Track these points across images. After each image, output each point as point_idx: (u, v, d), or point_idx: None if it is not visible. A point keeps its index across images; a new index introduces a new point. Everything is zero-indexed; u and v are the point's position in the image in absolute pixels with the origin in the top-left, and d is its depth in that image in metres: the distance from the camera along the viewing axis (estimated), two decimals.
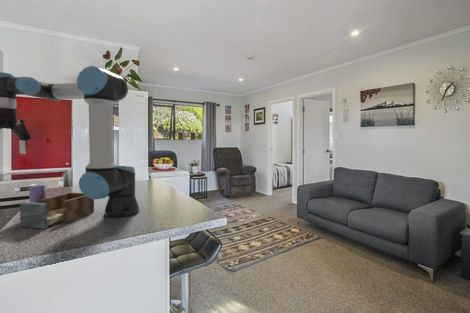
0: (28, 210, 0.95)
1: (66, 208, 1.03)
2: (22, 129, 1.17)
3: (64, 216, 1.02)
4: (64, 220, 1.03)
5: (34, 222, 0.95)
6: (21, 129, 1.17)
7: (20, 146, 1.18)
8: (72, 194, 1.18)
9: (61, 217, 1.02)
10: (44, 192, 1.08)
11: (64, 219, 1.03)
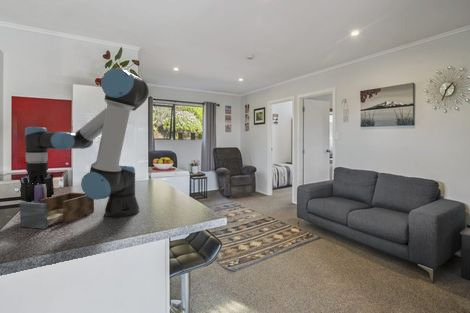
0: (28, 210, 0.95)
1: (66, 208, 1.03)
2: (48, 183, 1.13)
3: (64, 216, 1.02)
4: (64, 220, 1.03)
5: (34, 222, 0.95)
6: (48, 183, 1.13)
7: None
8: (72, 194, 1.18)
9: (61, 217, 1.02)
10: (44, 192, 1.08)
11: (64, 219, 1.03)
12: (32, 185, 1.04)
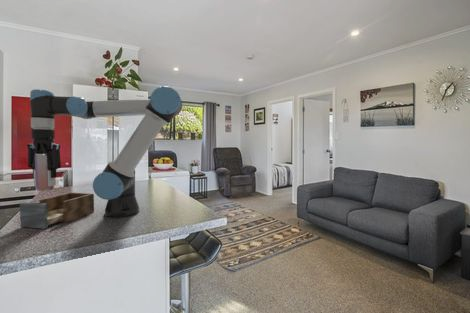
0: (28, 210, 0.95)
1: (66, 208, 1.03)
2: None
3: (64, 216, 1.02)
4: (64, 220, 1.03)
5: (34, 222, 0.95)
6: None
7: None
8: (72, 194, 1.18)
9: (61, 217, 1.02)
10: (38, 162, 0.96)
11: (64, 219, 1.03)
12: None
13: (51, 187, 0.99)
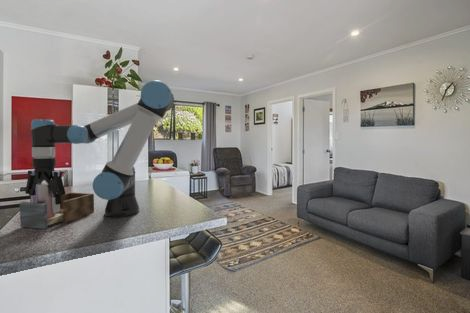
0: (28, 210, 0.95)
1: (66, 208, 1.03)
2: None
3: (64, 216, 1.02)
4: (64, 220, 1.03)
5: (34, 222, 0.95)
6: None
7: None
8: (72, 194, 1.18)
9: (61, 217, 1.02)
10: (38, 193, 0.97)
11: (64, 219, 1.03)
12: None
13: (52, 217, 1.00)
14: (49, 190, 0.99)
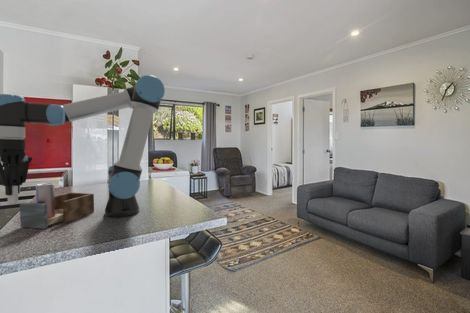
0: (28, 210, 0.95)
1: (66, 208, 1.03)
2: (23, 168, 0.91)
3: (64, 216, 1.02)
4: (64, 220, 1.03)
5: (34, 222, 0.95)
6: (22, 168, 0.91)
7: None
8: (72, 194, 1.18)
9: (61, 217, 1.02)
10: (39, 193, 0.97)
11: (64, 219, 1.03)
12: (8, 167, 0.85)
13: (52, 217, 1.00)
14: (50, 190, 0.99)
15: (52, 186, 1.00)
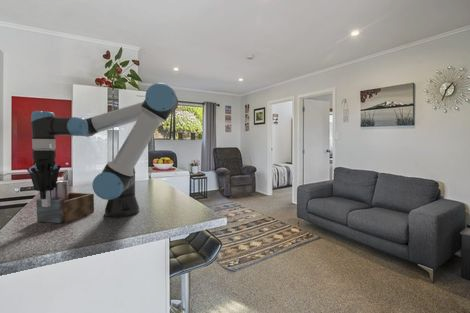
0: None
1: (66, 208, 1.03)
2: (53, 175, 1.03)
3: (64, 216, 1.02)
4: (64, 220, 1.03)
5: (50, 217, 1.01)
6: (52, 175, 1.03)
7: None
8: (72, 194, 1.18)
9: None
10: (55, 190, 1.04)
11: (64, 219, 1.03)
12: (42, 175, 0.98)
13: None
14: (64, 187, 1.06)
15: (67, 183, 1.07)
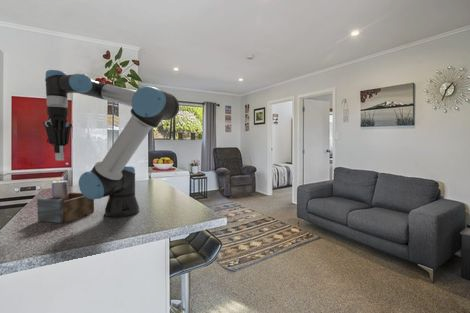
0: (45, 205, 1.02)
1: (66, 208, 1.03)
2: (65, 132, 1.11)
3: (64, 216, 1.02)
4: (64, 220, 1.03)
5: (50, 217, 1.01)
6: None
7: None
8: (72, 194, 1.18)
9: None
10: (55, 190, 1.04)
11: (64, 219, 1.03)
12: (56, 130, 1.05)
13: None
14: (64, 187, 1.06)
15: (67, 183, 1.07)
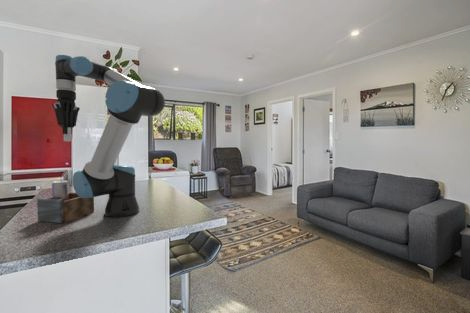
0: (45, 205, 1.02)
1: (66, 208, 1.03)
2: (73, 115, 1.17)
3: (64, 216, 1.02)
4: (64, 220, 1.03)
5: (50, 217, 1.01)
6: (72, 115, 1.17)
7: None
8: (72, 194, 1.18)
9: None
10: (55, 190, 1.04)
11: (64, 219, 1.03)
12: (64, 112, 1.11)
13: None
14: (65, 187, 1.06)
15: (67, 183, 1.07)
